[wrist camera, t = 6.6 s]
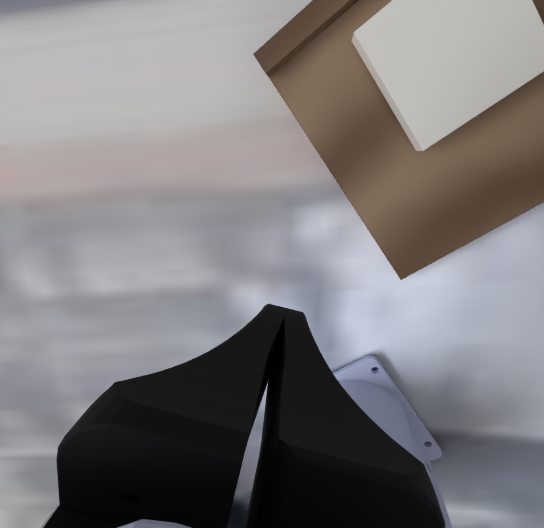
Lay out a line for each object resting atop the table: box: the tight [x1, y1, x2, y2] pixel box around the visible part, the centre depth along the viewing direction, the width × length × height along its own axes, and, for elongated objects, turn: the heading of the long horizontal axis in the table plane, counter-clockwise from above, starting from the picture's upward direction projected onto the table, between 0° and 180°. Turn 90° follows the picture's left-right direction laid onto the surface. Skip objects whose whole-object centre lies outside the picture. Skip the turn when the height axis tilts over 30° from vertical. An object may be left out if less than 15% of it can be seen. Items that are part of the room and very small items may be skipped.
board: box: [253, 0, 544, 280], centre depth 16 cm, size 14×14×2 cm
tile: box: [352, 0, 544, 151], centre depth 15 cm, size 2×6×6 cm
